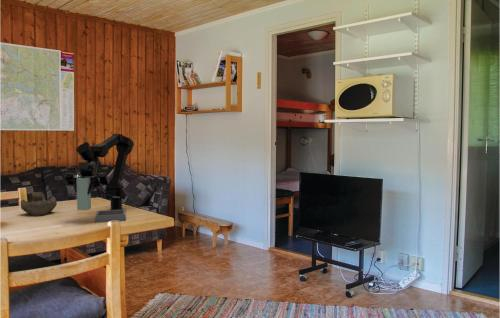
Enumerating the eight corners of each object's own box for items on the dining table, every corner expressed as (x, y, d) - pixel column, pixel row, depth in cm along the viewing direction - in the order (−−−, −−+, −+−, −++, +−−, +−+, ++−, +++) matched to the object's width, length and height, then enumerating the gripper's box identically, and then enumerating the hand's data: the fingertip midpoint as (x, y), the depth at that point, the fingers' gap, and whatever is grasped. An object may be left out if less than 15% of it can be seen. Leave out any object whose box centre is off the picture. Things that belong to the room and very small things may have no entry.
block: (81, 208, 192) (80, 177, 191) (90, 208, 192) (90, 177, 191) (77, 210, 188) (76, 178, 187) (87, 210, 188) (86, 178, 187)
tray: (97, 216, 204) (97, 210, 204) (125, 215, 208) (125, 209, 208) (95, 222, 192) (95, 215, 191) (125, 220, 195) (125, 214, 195)
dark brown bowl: (19, 206, 200) (20, 190, 212) (21, 225, 205) (23, 209, 217) (56, 202, 206) (55, 187, 218) (58, 221, 211) (57, 205, 223)
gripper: (65, 155, 192) (55, 182, 182) (106, 155, 192) (99, 182, 182) (72, 171, 200) (63, 198, 190) (112, 171, 201) (105, 198, 190)
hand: (82, 194), depth 188 cm, fingers closed on block, 4 cm apart
